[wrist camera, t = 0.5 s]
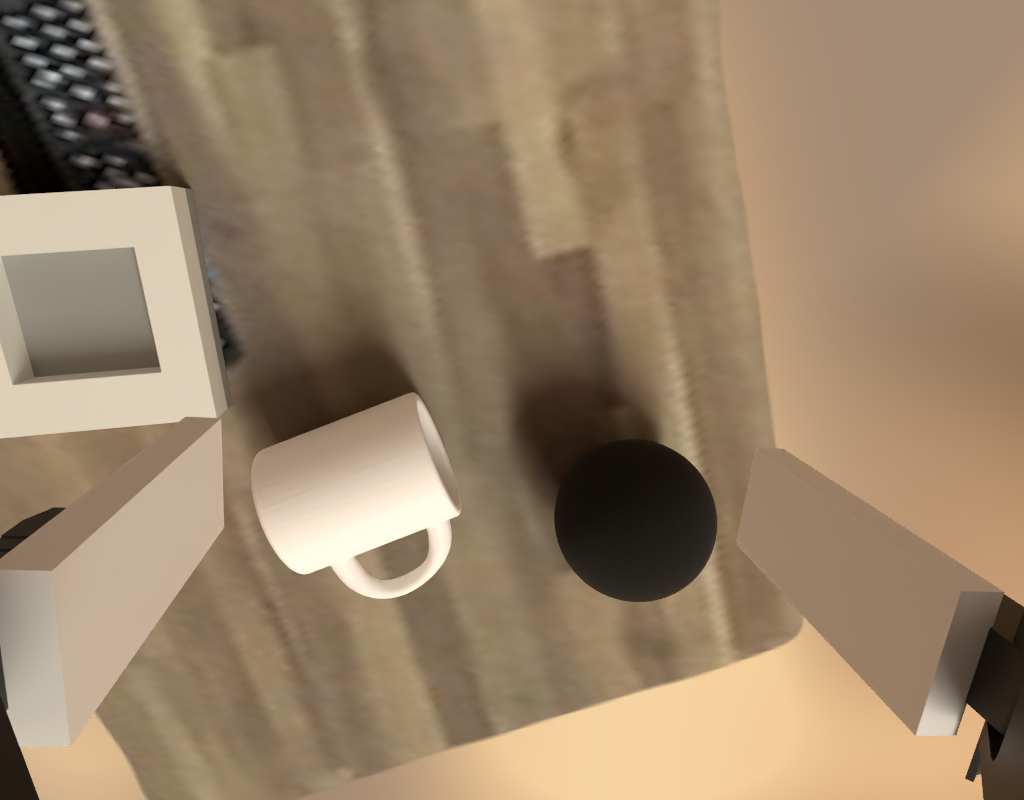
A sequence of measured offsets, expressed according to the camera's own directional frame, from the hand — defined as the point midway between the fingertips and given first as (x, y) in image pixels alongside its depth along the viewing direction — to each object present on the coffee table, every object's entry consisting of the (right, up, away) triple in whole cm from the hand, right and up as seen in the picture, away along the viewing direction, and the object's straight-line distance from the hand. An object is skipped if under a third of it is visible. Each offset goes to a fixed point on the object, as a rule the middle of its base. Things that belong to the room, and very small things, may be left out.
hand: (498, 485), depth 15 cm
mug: (-9, -4, +27) cm, 29 cm away
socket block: (-24, +7, +22) cm, 34 cm away
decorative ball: (+7, -4, +29) cm, 30 cm away
